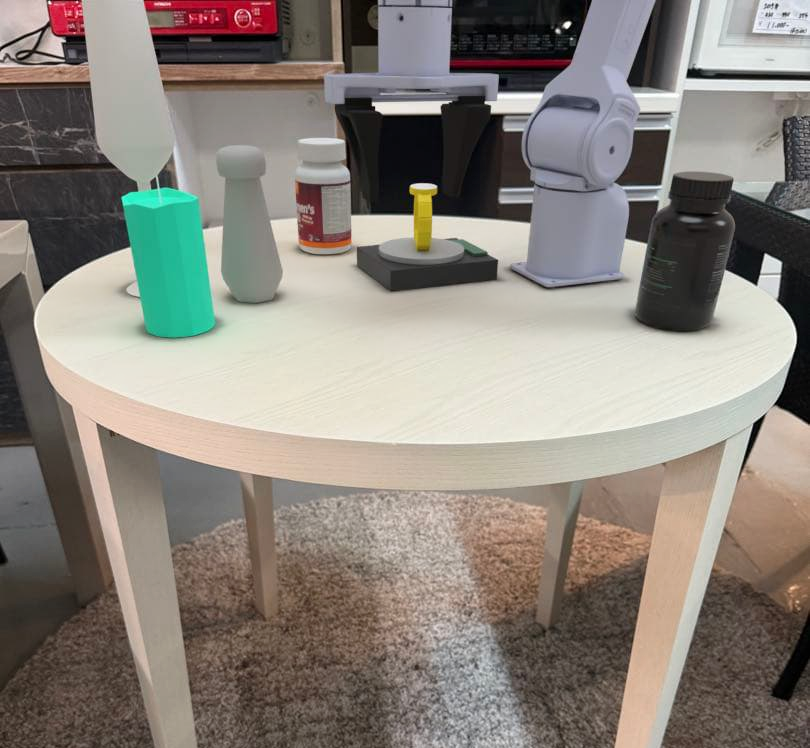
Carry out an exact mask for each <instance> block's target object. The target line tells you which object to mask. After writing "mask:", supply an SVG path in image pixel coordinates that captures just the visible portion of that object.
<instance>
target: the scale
mask: <svg viewBox="0 0 810 748" xmlns="http://www.w3.org/2000/svg"><path fill="white" fill-rule="evenodd" d="M356 266H357V267H358V268H359V269H361V270H362V271H363V272H365V273H366V274H368V275H369V277H371V278H373V280H375V281H377V282H378V283H379V284H381V285H382V286H383V287H385V288H386V289H387V290H389V291H390V292H397V291H405V290H414V289H421V288H423V289H424V288H431V287H440V286H451V285H456V284H457V285H459V284H467V283H476V282H485V281H495V280H497V279H498V267H499V259H497V258H495V257H493V256H492V255H490V254H489V252H488V251H487V250H484V249H483V248H480V247H478V246H477V245H476V244H473V243H471V242H469V241H468V240H465V239H463V238H461V239H459V238H457V237H451V238H437V237H431V245H430V249H429V250H416V245H415V242H414V236H413V237H401V238H394V239H390V240H387V241H386V240H385V241H384V242H382V243H380V244H373V245H361V246H356Z"/></svg>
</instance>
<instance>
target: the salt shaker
mask: <svg viewBox="0 0 810 748" xmlns="http://www.w3.org/2000/svg"><path fill="white" fill-rule="evenodd" d="M215 154H216V157H215V158H216V159H215V162H216V163H215V164H216V168H217V172H218V174H219V176H220V177H222V178H224V196H223V215H222V217H223V218H222V236H221V237H222V238H221V257H220V263H221V264H220V272H221V273H220V274H221V276H222V280H223V282H224V283H225V285H226V287H227V288H228V289H229V292H230V293H231V295H232V297H233V298H234V299H235V300H236V301H237V302H239V303H250V304H252V303H253V304H258V303H263V302H267V301H272V300H274V298H275V296H276V293H277V291H278V289H279V286H280V283H281V281H282V279H283V272H284V270H283V266H282V263H281V262H282V261H281V259H280V254H279V251H278V247H277V243H276V240H275V235H274V230H273V227H272V222H271V219H270V214H269V210H268V206H267V202H266V198H265V194H264V190H263V185H262V181H261V177H263V176H265V175H266V172H267V163H266V157H265V154H264V152H263V151H262V150H261V149H260V148H259V147H256V146H254V145H249V144H248V145H246V144H237V145H236V144H235V145H227V146H225V147H222V148H219V149H218V151H217V152H216V153H215Z"/></svg>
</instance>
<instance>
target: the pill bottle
mask: <svg viewBox="0 0 810 748" xmlns="http://www.w3.org/2000/svg"><path fill="white" fill-rule="evenodd" d="M297 150H298V151H297V157H298V158H297V159H299V160H301V161H302V164H300V165H298V167H296V169H295V172H294V182H295V183H294V186H295V202H296V203H295V205H296V207H295V208H296V222H297V223H296V224H297V237H298V246H299V248H300V249H301V251H303V252H305V253H308V254H312V255H335V254H342V253H346V252H347V251H349V250H350V249H351V247H352V243H353V242H352V195H351V194H352V193H351V192H352V191H351V190H352V188H351V172H350V170H349V168H348V167H346V166H345V165H344V164H343V163H342V161H344V160H346V159H347V153H346V141H345V139H341V138H333V137H307V138H301V139H298V141H297Z"/></svg>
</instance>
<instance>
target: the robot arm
mask: <svg viewBox="0 0 810 748" xmlns="http://www.w3.org/2000/svg"><path fill="white" fill-rule="evenodd" d="M655 3H656V0H591V3H590V5H589V9H588V12H587V15H586V18H585V21H584V24H583V27H582V30H581V33H580V35H579V39H578V41H577V45H576V48H575V50H574V53H573V57H572V60H571V63H570V65H568V66H567V67H566V68H565V69H564V70H563V71H562V72H560V73H559V74H558V75H557V76H555V77H554V78H553V79H552V80H551V81H550V82H549V83H547V85H545V87H544V90H543V92H542V96H541V99H540V101H539V103H538V105H537V106H536V108H535V109H534V110H533V112H532V113H531V114H530V116H529V118H528V119H527V121H526V123H525V126H524V129H523V131H522V137H521V154H522V155H521V156H522V158H523V161H524V163H525V165H526V166H527V168H528V169H529V170H530V176H529V177H530V178H529V180H530V181H532V182H534V184H533V194H532V204H531V214H530V222H529V223H530V225H529V234H528V244H527V254H526V261H522V262H513V263H510V264H509V268H510V270H513V271H515V272H517V273H518V274H520V275H522V276H524V277H526V278H528V279H529V280H532V281H533V282H535V283H537V284H539V285H542V286H543V287H545V288H554V287H565V286H573V285H582V284H589V283H597V282H598V283H599V282H606V281H615V280H622V279H624V276H625V274H624V273H622V272H621V271H620V270H621V264H622V260H623V252H624V248H625V247H624V246H625V242H626V241H625V240H626V235H627V229H628V223H629V216H630V205H629V199H628V198H629V197H628V195H627V192H626V191H625V190H624V188H623V187H622V186H621V185H619V183H615V182H616V180H618V178H620V176H621V175H622V174H623V173H624V171H625V170H626V167H627V165H628V163H629V161H630V158H631V155H632V151H633V142H634V133H635V127H636V124H637V120H638V117H639V116H640V112H641V106H640V104H639V102H638V100H637V98H636V96H635V94H634V93H633V91H632V89H631V87H630V85H629V83H628V82H627V80H628V78H629V75H630V72H631V69H632V66H633V64H634V62H635V59H636V55H637V53H638V50H639V47H640V44H641V41H642V39H643V36H644V33H645V30H646V28H647V25H648V22H649V19H650V17H651V15H652V11H653V9H654V5H655ZM377 6H378V7H377V22H378V23H377V35H378V36H377V49H378V51H377V53H378V55H377V58H378V60H377V63H378V67H377V69H378V72H361V73H359V72H358V73H355V72H354V73H324V75H323V84H324V85H323V86H324V101H325V103H328V104H331V105H334V113H335V117H336V119H337V120H338V122H339V125H340V127H341V129H342V131H343V134H344V135H345V138H346V140H347V143H348V146H349V149H350V151H351V154H352V157H353V159H354V160H353V161H354V164H355V168H356V171H357V174H358V175H357V176H358V180H359V182H360V183H359V185H360V189H361V196H362V199H363V200H365V201H366V202H369V203H378V202H379V195H380V194H379V193H380V181H379V150H380V138H381V132H382V131H381V129H382V124H383V123H382V122H383V117H384V116H383V114H382V112H380V111H378V110H376V105H373V103H411V102H412V103H415V102H416V103H417V102H418V103H420V102H423V103H424V102H448V103H442V104H441V105H440V107H439V108H440V114H441V115H440V116H441V123H442V124H441V125H442V136H443V137H442V138H443V158H442V159H443V160H442V161H443V162H442V181H441V183H442V194H443V195H446V196H449V197H451V198H459V197H460V194H461V191H462V186H463V183H464V179H465V175H466V171H467V168H468V165H469V163H470V161H471V157H472V154H473V152H474V149H475V147H476V146H477V143H478V141H479V138H480V136H481V135H482V133H483V131H484V129H485V127H486V126H487V124H488V122H489V121H490V120H491V114H492V105H491V104H489V103H488V104H487V103H486V102H498V92H499V79H500V78H499V77H500V76H499V74H496V73H489V72H487V73H486V72H480V73H478V72H450V66H451V65H450V63H451V41H452V39H451V38H452V15H453V8H452V7H453V0H377ZM397 89H403V90H404V89H406V90H407V89H408V90H409V89H410V90H412V89H413V90H416V89H417V90H427V89H428V90H430V91H431V92H436V93H401V94H400V93H399V94H397ZM395 93H396V94H395Z"/></svg>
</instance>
